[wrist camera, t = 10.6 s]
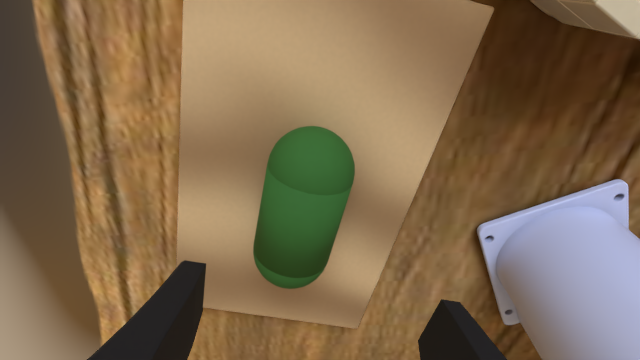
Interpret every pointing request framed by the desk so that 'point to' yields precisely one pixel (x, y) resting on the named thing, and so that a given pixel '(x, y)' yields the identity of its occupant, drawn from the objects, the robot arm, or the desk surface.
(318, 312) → the cutting board
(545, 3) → the pot
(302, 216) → the cucumber
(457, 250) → the desk surface
